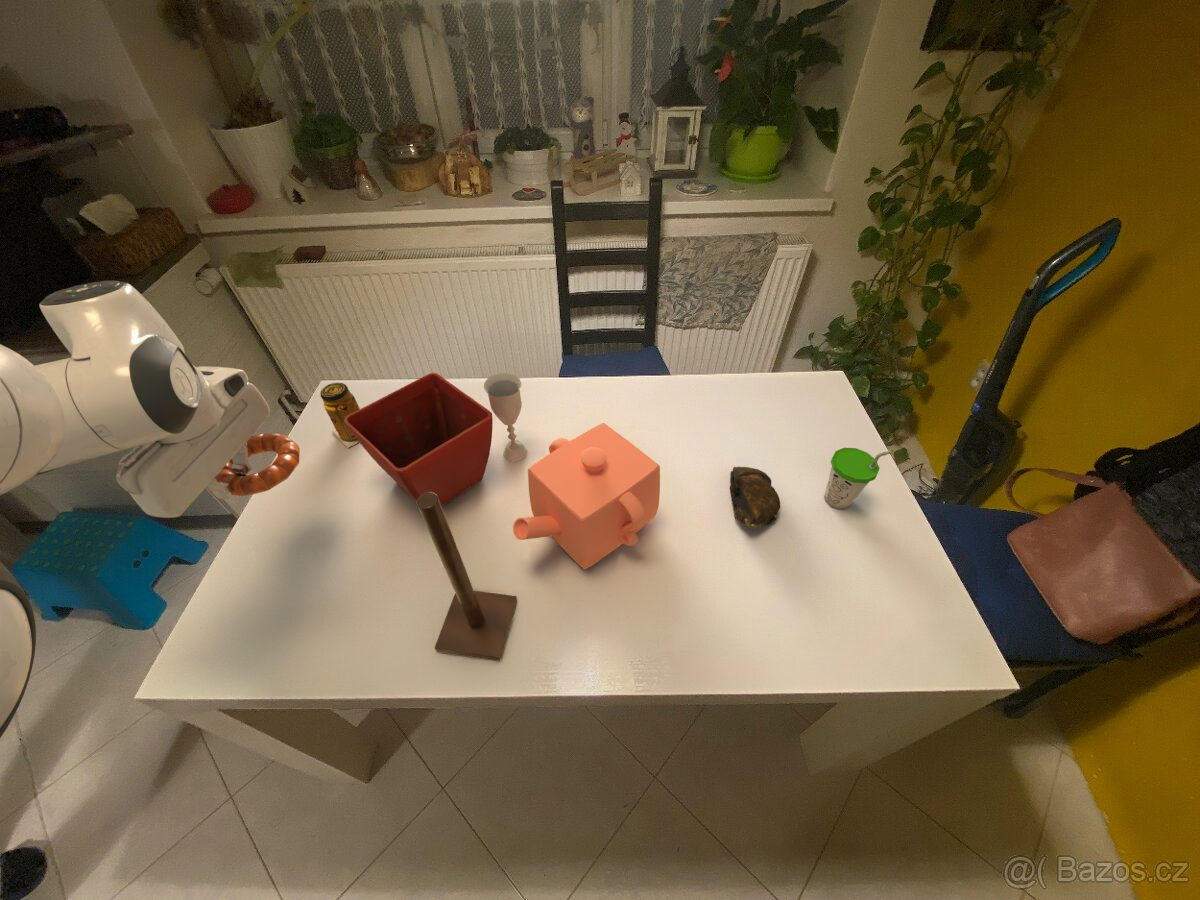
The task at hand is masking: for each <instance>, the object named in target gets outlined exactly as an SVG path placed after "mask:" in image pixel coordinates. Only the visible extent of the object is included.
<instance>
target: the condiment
mask: <svg viewBox="0 0 1200 900" xmlns="http://www.w3.org/2000/svg"><path fill="white" fill-rule="evenodd" d="M319 394H320V398H321V400H322V401H323V407H324V410H325V411H326V413H327V415H328V417H329V419H330V421H331V423H332V425H333V426H334V429H335V430H333V431H332V433H333V434H334V436H336V437H337V438H338V440H339V441H340V442H341V443H342V444H343V445H344V446H345V447H346V448H347V449H349V448H351V447H352V446H354V445H357V444H358V443H359V444H360V442H359V441H358V440H357V439H356V437H355V436H354V435H353V433H352V432H351V430H350V429H349V427H348V426H347V425H346V423H345V421H344V419H345V417H346V416H348V415H350V414H352V413H354V412H355V411H357V410H359V409H361V408H360V406H359V404H358V401H357V399H356V398H355V395H354V394H353V393H352V392H351V391H350V390H349V387H348V386H347V385H346V384H345V383H343V382H332V383H329V384H326V385H325V386H324V387H323V388H322V389H321V390H320V393H319Z"/></svg>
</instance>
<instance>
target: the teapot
mask: <svg viewBox="0 0 1200 900" xmlns="http://www.w3.org/2000/svg"><path fill="white" fill-rule="evenodd" d="M548 451H549V454H547V455H545V456H544V457H543V458H541V459H540V460H537V462H535V463H534V464H532V465H531V466H529V468H528V469H527V480H528V494H529V503H530V508H531V512H532V516H527V517H525V516H524V517H518V518H517V519H516V520H515V521H514V522H513V526H512V532H513V535H514V537H515V538H516V539H517V540H519V541H524V540H531V539H539V538H547V537H551V538H552V539H554V541H555V542H556V543H557V545H559V546H560V547H561V548H562V549H563V550H564V551H565V552H566V553H567V554H568V555H569V556H570V557H571V559H573V561H575V562H576V563H577V564H578V565H579V566H580V567H581V568H582V569H583V570H587V569H588V568H590V567H592V566H593V565H595V564H596V563H598V562H599V561H601V560H602V559H603V558H605V557H606V556H608V555H609V554H611V553H612V552H614V551H615V550H616V549H617V548H619V547H620V546H621V545H624V546H627V547H630V546H631V547H632V546H634V545H635V544H637V542H638V540H639V536H638V534H637V533H638V532H639V531H640V530H641V529H642V528H644V527H645V526H646V525H647V524H649V523H650V522H651V521H652V520H653V519H654V518H655V517H656V516H657V513H658V510H659V505H660V493H661V466H660V465H659V463H658V462H656V461H655V460H654V459H653V458H651V457H649V455H647V454H646V453H645V452H643V451H642V450H641V449H640V448H638V447H637V446H636V445H634V444H633V443H632V442H630V441H629V440H628V439H627V438H625V437H624V436H622V435H621V434H620V433H618V432H617V431H616V430H615V429H614V428H611V426H609V425H608V424H606V423H605V422H603V423H600V424H598V425H596V426H594V427H592V428H591V429H588V430H586V431H585V432H583V433H582V434H579V435H578V436H576V437H575V438H573V439H571V440H569V439H567V438H566V437H565V438H564V437H559V438H556V439H555V440H553V441H552V442H551V443H550V444H549V447H548Z"/></svg>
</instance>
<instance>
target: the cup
mask: <svg viewBox="0 0 1200 900" xmlns="http://www.w3.org/2000/svg"><path fill="white" fill-rule="evenodd" d="M891 454H893V450H892V449H890V450H885V451H883V452H880V453H877V454H876V455H875V457H873V456H872V455H871V454H870V453H869V452H867V451H864V450H862V449H859V448H857V447H842V448H840V449H838V450H835V451H834V453H833V455H832V457H831V459H830V465H831V467H830V472H829V476H828V479H827V483H826V487H825V492H824V496H823V498H824V501H825V503H826V504H827V505H828V506H829V507H831V508H834V509H835V510H845V509H847V508H849V506H851V504H852V503H853V502H854V500H856V498H857V497H858V496H859V495H860V494H861V493H862V491H864V489H865V488H866V486H868V485H869V483H870V482H872V481H875V480H876V478H877V476H878V474H879V471H880V466H879V463H878V460H879V459H880V458H881V457H884V456H887V455H891Z"/></svg>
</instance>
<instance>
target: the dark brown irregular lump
mask: <svg viewBox="0 0 1200 900" xmlns="http://www.w3.org/2000/svg"><path fill="white" fill-rule="evenodd" d="M729 476H730V480H729V483H730V485H729V490H730V491H729V492H730V498H731V503H732V508H733V514H734V518H735V520H736V521H737V522H738V523H740V524H741V525H742V526H743V527H744V526H745V527H748V529H751V528H754V529H757V528H760V527H763V526H769V525H772V524H776V523H777V522H776V521H777V519H778V518H777V515H778V514H779V512H780V509H781V500H780V497H779V494H778V492H777V491H776V489H775V487H774V486H772V479H771V477H770V476H769V475H768V474H767V473H766V472H764V471H762V470H760V469H758V468H754V467H749V466H733V468H732V470H731V471H730V475H729Z"/></svg>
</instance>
